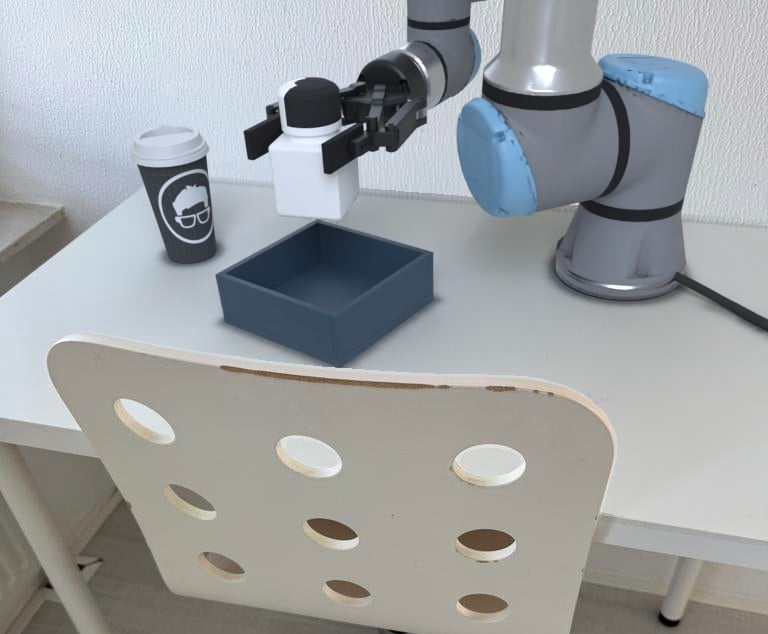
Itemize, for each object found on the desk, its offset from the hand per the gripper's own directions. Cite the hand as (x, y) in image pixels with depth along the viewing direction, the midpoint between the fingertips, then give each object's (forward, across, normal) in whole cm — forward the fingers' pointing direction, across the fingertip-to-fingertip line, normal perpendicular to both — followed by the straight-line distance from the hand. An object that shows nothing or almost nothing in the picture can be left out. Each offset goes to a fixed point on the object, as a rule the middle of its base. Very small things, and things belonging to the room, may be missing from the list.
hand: (286, 152), depth 75 cm
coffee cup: (-10, +25, -20) cm, 34 cm away
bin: (-5, 0, -19) cm, 20 cm away
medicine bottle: (-5, 0, -7) cm, 9 cm away
